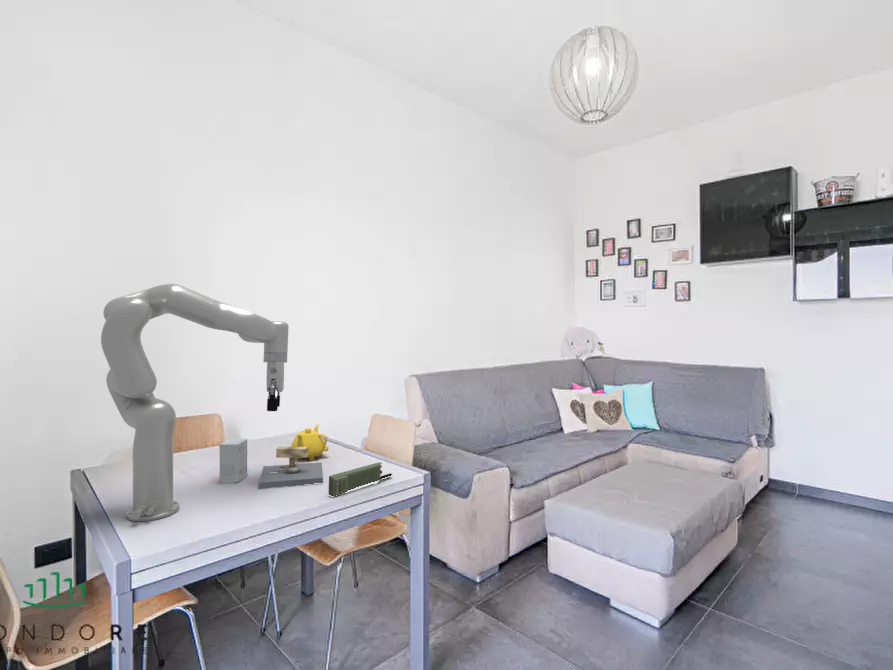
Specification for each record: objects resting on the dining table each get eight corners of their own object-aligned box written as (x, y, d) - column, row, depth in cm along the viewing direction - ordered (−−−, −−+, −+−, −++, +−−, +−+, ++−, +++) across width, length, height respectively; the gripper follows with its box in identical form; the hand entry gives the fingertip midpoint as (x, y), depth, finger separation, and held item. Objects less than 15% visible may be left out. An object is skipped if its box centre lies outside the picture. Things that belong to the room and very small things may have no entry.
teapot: (318, 465, 176) (319, 435, 176) (280, 464, 177) (281, 433, 177) (336, 451, 196) (337, 424, 195) (302, 450, 197) (302, 422, 197)
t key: (308, 468, 164) (309, 446, 164) (304, 473, 159) (304, 449, 159) (280, 468, 164) (280, 445, 164) (275, 473, 159) (275, 449, 159)
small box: (229, 475, 163) (229, 438, 163) (247, 475, 163) (247, 438, 163) (218, 483, 155) (219, 444, 155) (238, 483, 155) (238, 444, 155)
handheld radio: (326, 496, 145) (387, 477, 164) (332, 499, 143) (394, 479, 162) (327, 475, 145) (388, 458, 164) (333, 477, 143) (394, 460, 162)
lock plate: (322, 483, 156) (322, 477, 156) (258, 488, 150) (258, 482, 150) (321, 467, 173) (321, 461, 173) (263, 471, 168) (263, 465, 168)
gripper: (285, 359, 151) (283, 412, 151) (288, 357, 167) (286, 405, 167) (260, 359, 149) (258, 413, 149) (266, 356, 165) (264, 405, 165)
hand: (273, 408), depth 158 cm, fingers open, 9 cm apart
